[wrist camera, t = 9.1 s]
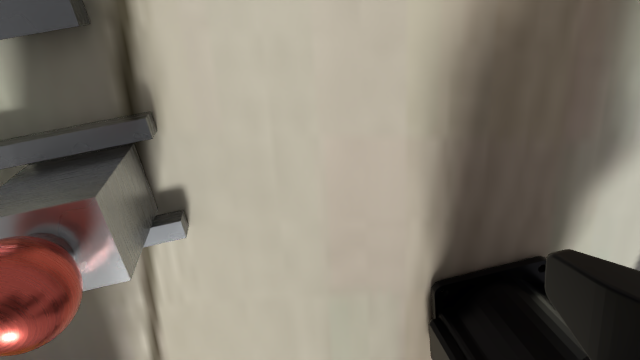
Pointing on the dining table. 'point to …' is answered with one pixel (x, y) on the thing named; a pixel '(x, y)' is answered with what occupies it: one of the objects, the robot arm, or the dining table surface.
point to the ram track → (90, 140)
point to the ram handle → (67, 239)
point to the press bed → (39, 16)
